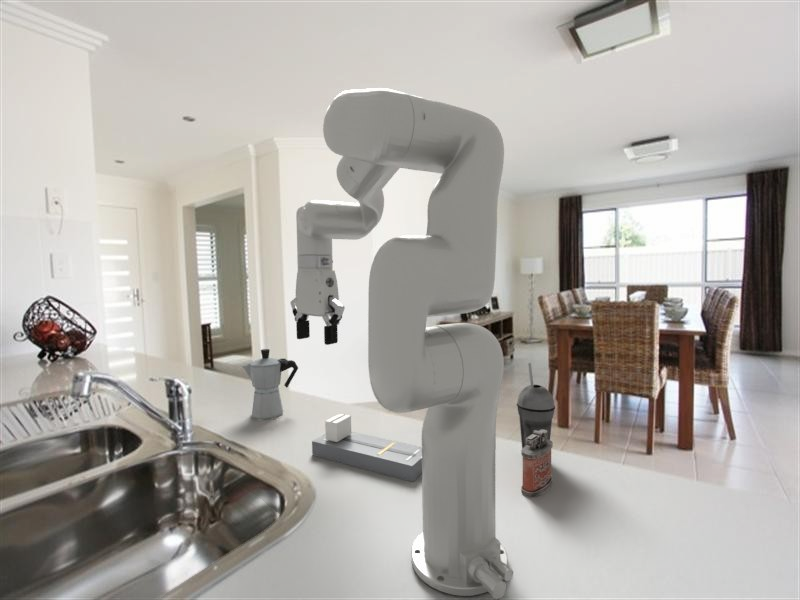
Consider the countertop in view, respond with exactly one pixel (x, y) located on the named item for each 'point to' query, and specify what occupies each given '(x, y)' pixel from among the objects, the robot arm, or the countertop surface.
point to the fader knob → (338, 427)
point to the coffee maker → (268, 384)
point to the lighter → (536, 464)
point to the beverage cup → (535, 409)
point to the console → (372, 454)
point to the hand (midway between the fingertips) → (316, 340)
